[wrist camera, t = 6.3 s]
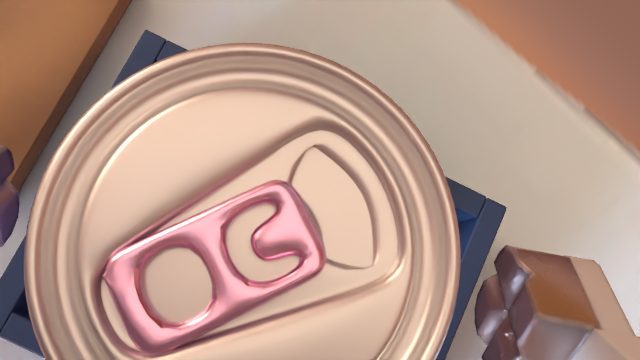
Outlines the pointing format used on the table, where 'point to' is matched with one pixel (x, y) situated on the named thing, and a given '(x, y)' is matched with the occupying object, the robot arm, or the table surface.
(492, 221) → the open storage box
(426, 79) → the table surface
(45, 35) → the coaster
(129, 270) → the beverage can
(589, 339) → the robot arm
